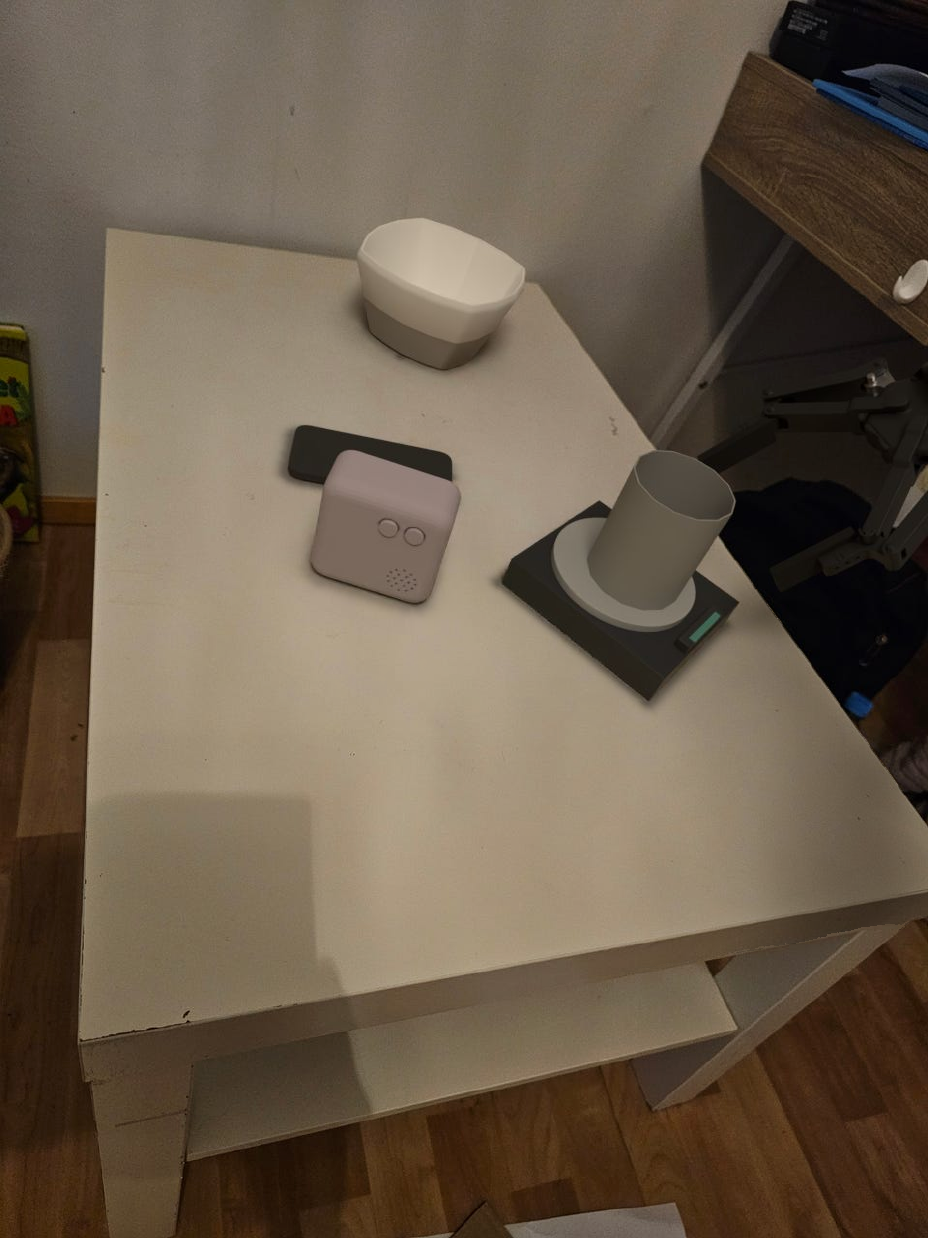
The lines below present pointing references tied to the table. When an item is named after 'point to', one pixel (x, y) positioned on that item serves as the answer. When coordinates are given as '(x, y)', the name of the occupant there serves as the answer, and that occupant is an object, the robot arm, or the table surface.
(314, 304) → the table surface
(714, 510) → the cup
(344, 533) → the electronic device
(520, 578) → the scale
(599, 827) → the table surface
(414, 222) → the bowl
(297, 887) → the table surface
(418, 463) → the phone
